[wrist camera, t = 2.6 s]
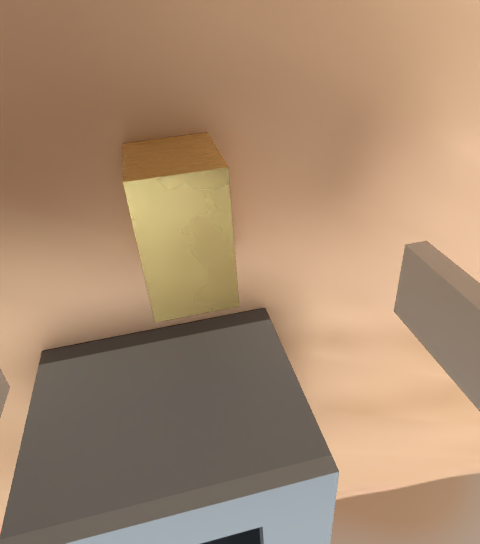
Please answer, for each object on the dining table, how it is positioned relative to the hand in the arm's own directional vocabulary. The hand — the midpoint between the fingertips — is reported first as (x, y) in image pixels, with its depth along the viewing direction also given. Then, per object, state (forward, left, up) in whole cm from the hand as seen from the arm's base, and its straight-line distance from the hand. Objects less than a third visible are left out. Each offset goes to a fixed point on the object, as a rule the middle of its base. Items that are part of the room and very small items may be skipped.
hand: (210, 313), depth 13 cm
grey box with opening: (+14, -2, -8) cm, 16 cm away
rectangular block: (0, 0, -8) cm, 8 cm away
